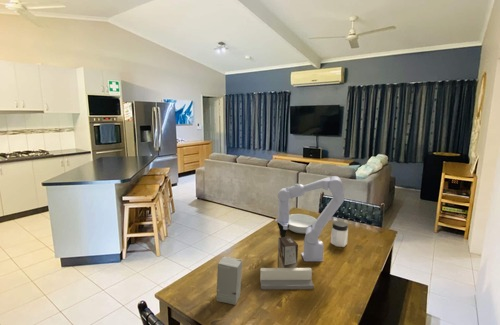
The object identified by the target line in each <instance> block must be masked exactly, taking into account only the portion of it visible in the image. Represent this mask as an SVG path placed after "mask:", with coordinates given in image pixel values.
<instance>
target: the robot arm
mask: <svg viewBox="0 0 500 325" xmlns="http://www.w3.org/2000/svg"><path fill="white" fill-rule="evenodd" d="M320 189H323V190H325V191H330V193H331V194H332V195H331V196H332V198H331V200H330V201H329V202H328V203H327V205H326V206H325V207H324V209H323V210H322V212H321V213H320V214H319V215H318V217H317V218H316V219H317V220H316V221H315V222H313V223H312V224H311V225H310V226H308V227H307V228H306V233H305V236H304V239H303V252H300V255H301V256H302V259H303V261H304V262H324V242H323V241H322V240H319V236H321V234H322V231H323V229H324V228H325V226H326V225H328V223H329V221H330V220H331V219H332V217H333V216H334V215H335V213H336V212H337V211H338V210H339V208H340V207H341V205H342V204H343V203H344V202H345V187H344V185H343V181H342V179H341V178H340V177H339V176H337V175H332V176H329V177H324V178H322V179H318V180H316V181H312V182H310V183H307V184H302V183H299V184H298V183H295V184H294V185H292V186H286V187H282V188H281V189H280V190H279V191H278V194H277V198H278V203H277V218H276V219H274V220H275V223H276V224H277V226H278V229H279V235H280V237H286V235H287V231H288V230H289V229H288V228H289V215H290V199H294V198H298V197H302V196H304V195H305V194H306V192H311V191H315V190H320Z"/></svg>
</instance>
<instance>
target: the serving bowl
mask: <svg viewBox="0 0 500 325" xmlns="http://www.w3.org/2000/svg"><path fill="white" fill-rule="evenodd" d="M316 220H317V218H316V217H314V216H311V215H309V214H305V213H292V214H289V228H288V229H287V230H290V231H291V232H294V233H295V234H296V233H297V234H303V235H304V234H305V235H306V228H307V227H308V226H310V225H311V224H312V223H313V222H315V221H316Z"/></svg>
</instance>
